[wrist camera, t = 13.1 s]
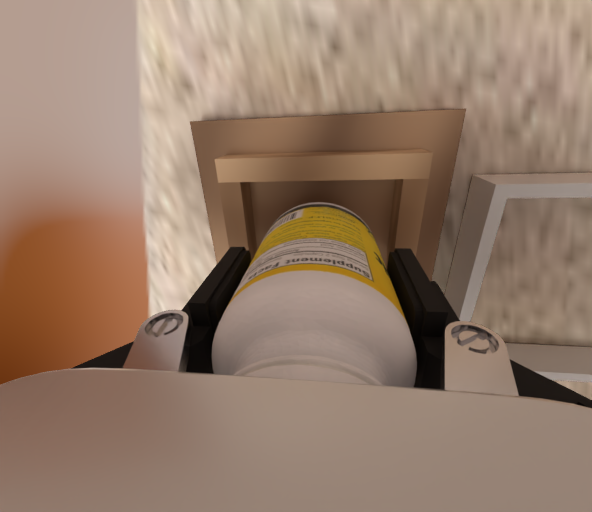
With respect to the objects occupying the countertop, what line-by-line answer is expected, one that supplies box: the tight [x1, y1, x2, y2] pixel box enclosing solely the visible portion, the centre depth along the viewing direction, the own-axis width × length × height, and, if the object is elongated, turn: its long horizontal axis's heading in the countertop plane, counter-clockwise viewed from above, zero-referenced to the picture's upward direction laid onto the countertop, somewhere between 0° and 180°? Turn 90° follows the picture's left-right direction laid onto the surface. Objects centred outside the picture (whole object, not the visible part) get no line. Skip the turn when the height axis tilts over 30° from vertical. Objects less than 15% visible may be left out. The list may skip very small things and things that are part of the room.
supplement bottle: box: [212, 202, 417, 387], centre depth 9 cm, size 5×5×10 cm
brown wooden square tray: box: [190, 109, 466, 281], centre depth 15 cm, size 12×12×3 cm
